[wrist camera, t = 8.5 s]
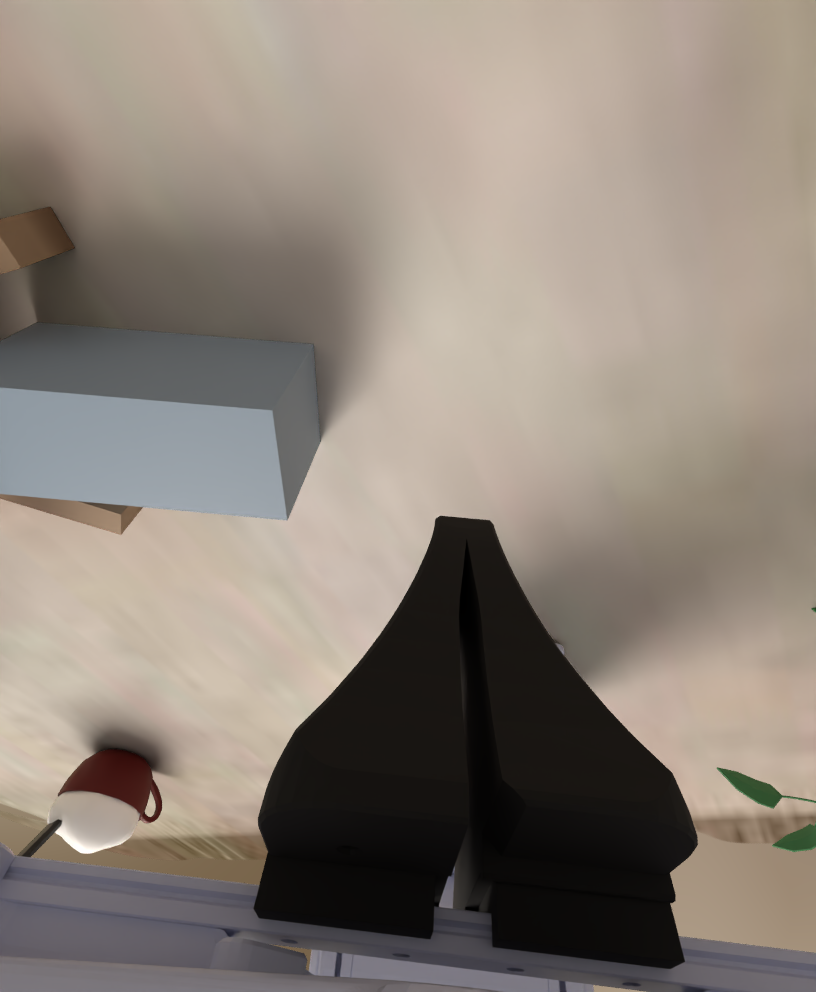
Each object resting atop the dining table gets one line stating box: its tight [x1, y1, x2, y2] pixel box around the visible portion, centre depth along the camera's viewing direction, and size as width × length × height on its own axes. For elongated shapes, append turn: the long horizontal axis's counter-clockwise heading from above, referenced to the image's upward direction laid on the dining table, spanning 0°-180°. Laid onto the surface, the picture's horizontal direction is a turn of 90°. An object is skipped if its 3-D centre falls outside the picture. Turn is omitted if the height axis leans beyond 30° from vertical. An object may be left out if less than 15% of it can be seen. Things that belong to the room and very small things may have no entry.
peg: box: [0, 322, 321, 520], centre depth 17 cm, size 10×4×5 cm, turn 87°
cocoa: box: [17, 749, 162, 857], centre depth 36 cm, size 10×6×12 cm, turn 20°
